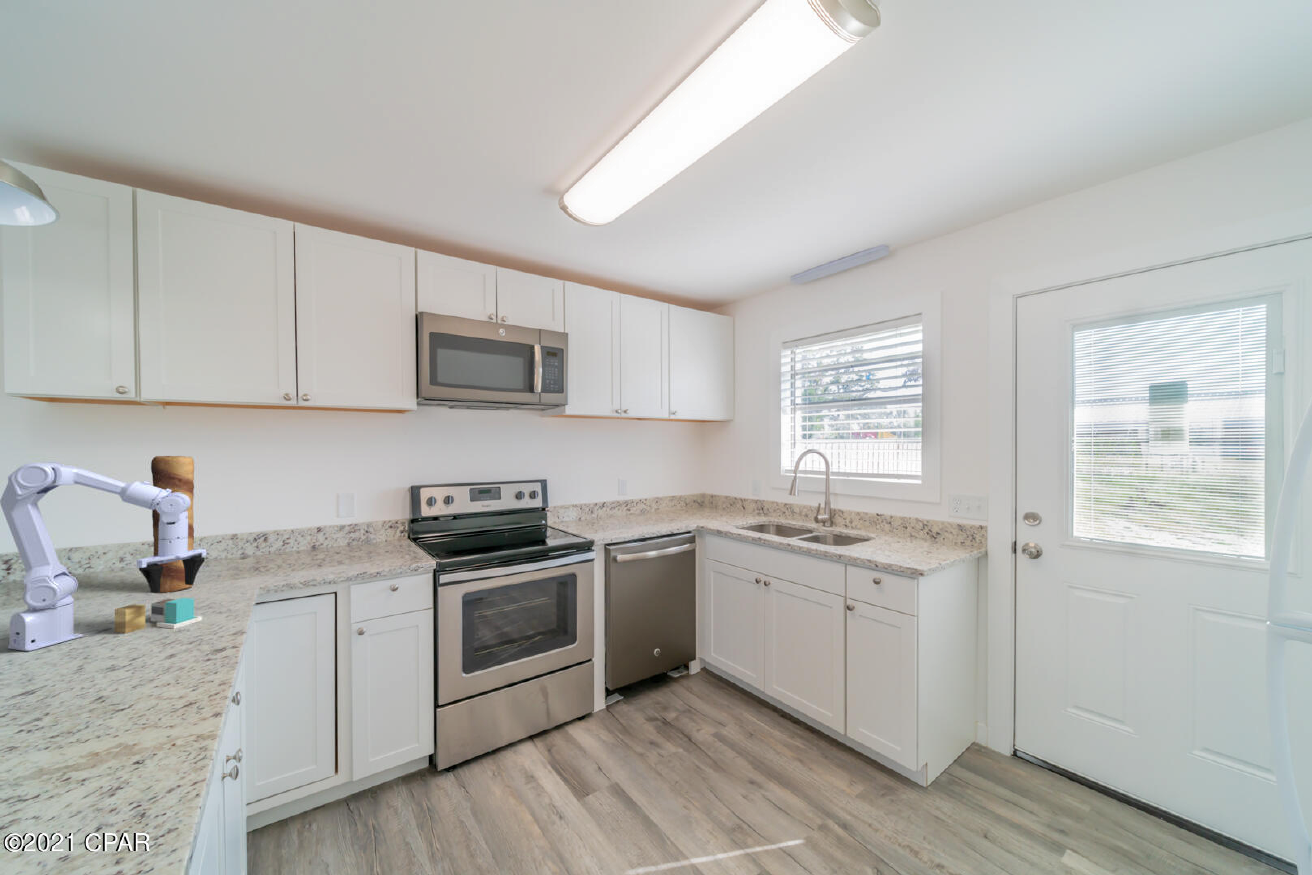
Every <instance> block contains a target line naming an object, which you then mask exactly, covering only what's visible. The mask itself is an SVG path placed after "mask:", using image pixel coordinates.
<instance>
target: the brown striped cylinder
mask: <svg viewBox="0 0 1312 875" xmlns="http://www.w3.org/2000/svg"><path fill="white" fill-rule="evenodd" d="M150 471H151V474H152V475H151V476H152V486H154V487H158V488H161V489H164V490H166V489H170V490H172V491H171V493H175V492H181V493H182V494H184V495H186V496H188V497H189V499H190V501H191V504H190V507H189V508H188V509H187V510H186V511H188V551H189V550H194V542H195V537H194V536H195V535H194V534H195V529H194V528H195V527H194V498H195V497H194V496H195V495H194V494H195V492H194V490H195V483H194V480H195V479H194V478H195V474H194V472H195V461H194V457H192V456H184V455H183V456H182V455H175V456H174V455H173V456H172V455H163V456H162V455H156V456H154V457H153V458H152V460H151V462H150ZM151 511H152V512H151V513H152V514H151V518H152V536H153V556H157V555H158V544H159V522H160V514H159V513H158V512H157V510H156V509H154V510H151ZM184 512H185V511H184ZM182 513H183V512H182ZM176 559H177V558H176ZM169 560H172V559H169ZM160 562H161V561H160ZM158 565H159V567H163V571H162V574H161V579H160V592H158V593H159V594H167V592H170V593H174V592H177V591H181V590H187V589H189V588H192V587H193V585H194V584H193V585H185V570H184V565H183V562H182V560H178V561H173V562H168V563H162V564H158ZM158 593H157V594H158Z"/></svg>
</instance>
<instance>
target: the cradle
mask: <svg viewBox="0 0 1312 875" xmlns="http://www.w3.org/2000/svg"><path fill="white" fill-rule="evenodd" d="M200 621H203V616H198V615H194V619H191V620H188V621H184V622H181V623H177V624H168V623H166V620H165V621H162V622H156V627H157V628H165V629H173V630H175V629H177V628H181V627H184V626H187V625H191V624H195V623H198V622H200Z"/></svg>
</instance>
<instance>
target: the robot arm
mask: <svg viewBox="0 0 1312 875" xmlns="http://www.w3.org/2000/svg"><path fill="white" fill-rule="evenodd" d="M7 481H8V482H7V484H6V486H5V488H4V491H3V493H2V495H1V498H0V507H1V509H2V511H3V515H4V517H5V520H6V523H7V526H8V527H9V530H10V533H11V535H12V537H13V540H14V543H15V545H16V548H17V551H18V553H19V555H20V559H21V561H22V564H23V566H24V569H25V571H26V572H25V575H24V578H23V580H22V584H23V586H24V591H23V593H22V601H23V602H24V604H25V605H27V609H24V610H23V611H20V612H16V613H14V614H13V615H12V616H11V617H10V620H9V645H8V646H7V647H6V648H7V649H9V650H18V651H24V652H32V651H35V650H38V649H42V648H46V647H50V646H53V645H57V644H60V643H64V642H68V641H71V640H75V639H79V638H82V637H84V634H83V633H82V634H81V633H75V632H74V631H75V630H74V629H75V628H74V625H75V624H74V622H75V621H74V620H75V619H74V618H75V615H74V614H75V611H74V610H75V599H74V597H73V596H72V595H73V594H74V593H75V592H76V591H77V590H78V587H79V582H78V579H77V578H76V577H74V576H72V575H71V574H70V572H69V571H68V569H67V567H66V566H65V565H63V564H62V563H61V562H60V561H59V559H58V558H59V557H58V556H57V552H56V550H55V547H54V544H53V541H52V540H51V536H50V533H49V532H48V531H49V530H48V529H47V526H46V523H45V520H44V519H43V516H42V513H41V510H40V508H39V505H38V503H39V502H40V501H41V500H42V499H43V498H44V497H45V496H46V495H47V494H48V493H49V492H50V491H52V490H55V489H56V488H58V487H60V486H68V485H69V486H71V485H80V486H84V487H87V488H92V489H95V490H99V491H102V492H107V493H109V494H114V495H118V496H119V497H120V498H121V502H123V503H127V504H131V505H133V506H134V505H135V506H138V507H141V508H144V509H147V510H150V511H152V510H154V509H156V510H157V512H158V513H159V514H160V522H159V544H158V555H157V556H154V555H153V556H149V557H145V558H141V559H137V560H136V568H138V570H139V571H140V572H141V574H142V575H143V577H144V578H145V580H146V582H147V584H148V587H149V591H150V593H153V594H158V592H160V579H161V574H162V571H163V567H159V565H158V564H162V563H168V562H173V561H178V560H182V562H183V565H184V570H185V585H194V583H195V580H196V576H197V574H198V572H199V570H200V568H201V566H202V565H203V564H204V562H206V560H205V557H207V548H199V549H193V550H189V551H188V511H186V510H187V509H188V508H189V507H190V504H191V501H190V499H189V497H188V496H186V495H184V494H182V493H181V492H175V493H171V491H172V490H170V489H166V490H164V489H161V488H158V487H154V486H153V485H151V482H149V481H146V480H144V481H142V482H141V481H138V480H137V481H134V482H130V483H126V482H124V481H120V480H117V479H114V478H111V477H109V476H107V475H103V474H100V473H97V472H93V471H90V470H88V469H84V468H81V467H78V466H74V465H68V464H62V463H60V462H56V461H53V462H52V461H49V462H28V463H25V464H23V465H20V466H19V467H18V468H16V469H15V470H14V471H12V472H11V473H10V474H9V475H8V476H7ZM184 511H185V512H184ZM182 512H183V513H182ZM176 558H177V559H176ZM169 559H172V560H169ZM160 561H161V562H160Z"/></svg>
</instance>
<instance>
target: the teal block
mask: <svg viewBox="0 0 1312 875" xmlns="http://www.w3.org/2000/svg"><path fill="white" fill-rule="evenodd" d="M194 616H195V598H190V597H182V598H177V599H175V600H172V601H169V602H166V623H168V624H177V623H181V622H184V621H188V620H191V619H194Z"/></svg>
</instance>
